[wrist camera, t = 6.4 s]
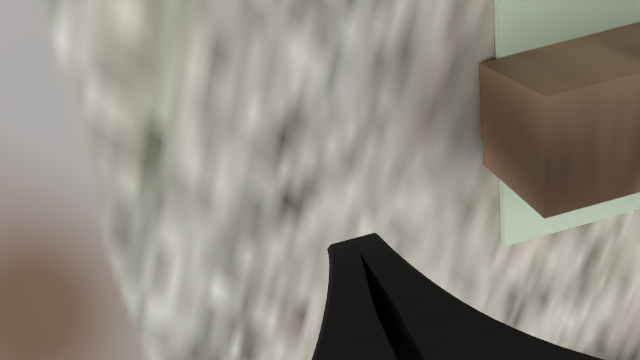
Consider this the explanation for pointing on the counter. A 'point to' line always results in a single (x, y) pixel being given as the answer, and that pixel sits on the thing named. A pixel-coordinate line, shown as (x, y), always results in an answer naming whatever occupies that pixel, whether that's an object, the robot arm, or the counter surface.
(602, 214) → the sage mat
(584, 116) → the walnut block
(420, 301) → the robot arm
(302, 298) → the counter surface
